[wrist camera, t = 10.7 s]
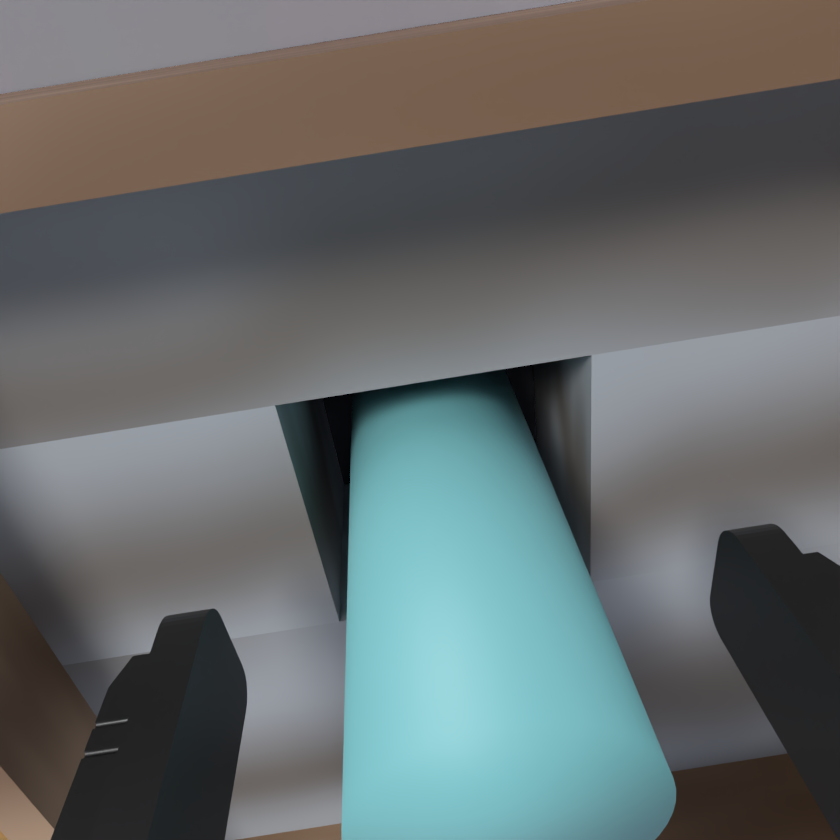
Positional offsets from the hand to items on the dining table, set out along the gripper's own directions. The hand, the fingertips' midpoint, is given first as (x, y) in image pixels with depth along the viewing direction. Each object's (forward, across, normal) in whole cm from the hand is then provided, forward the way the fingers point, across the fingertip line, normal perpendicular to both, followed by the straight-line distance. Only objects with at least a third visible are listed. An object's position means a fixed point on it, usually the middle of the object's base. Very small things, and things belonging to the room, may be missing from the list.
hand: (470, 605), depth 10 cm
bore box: (+8, 0, +2) cm, 8 cm away
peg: (+8, 0, 0) cm, 8 cm away
